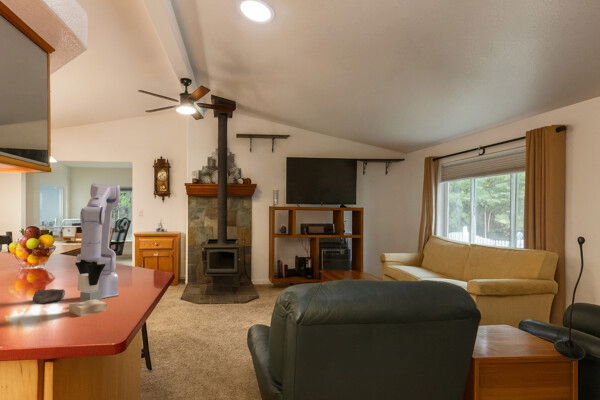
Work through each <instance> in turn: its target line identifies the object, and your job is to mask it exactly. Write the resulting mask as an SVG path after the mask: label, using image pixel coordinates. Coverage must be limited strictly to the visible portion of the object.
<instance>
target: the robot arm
mask: <svg viewBox="0 0 600 400" xmlns="http://www.w3.org/2000/svg"><path fill="white" fill-rule="evenodd" d="M89 192H90V199H89V201H88V203H87V204H86V206H84V207H83V208H81V209H80V215H79V217H80V218H79V219H80V229H81V242H80V254H76V255H77V256H76V261H78V262H75V266H76V268H77V270H78V274H86V273H88V278H89V285H90V286H92V285H97V283H98V280H99V288H98V290H101V299H107V298H112V297H117V296H119V276H118V274H117V272H115V271H116V267H117V254H116V252H115V251H114V250H113V249H111V248H110V241H111V229H112V228H111V227H112V217H113V216H112V215H113V211H114V208H116V207H119V204H120V200H121V199H120V197H121V186H120V185H119V183H116V184H115V183H114V184H112V183H97V182H92V184H91V185H90V190H89Z"/></svg>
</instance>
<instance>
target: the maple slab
mask: <svg viewBox="0 0 600 400" xmlns="http://www.w3.org/2000/svg"><path fill="white" fill-rule="evenodd" d="M68 309H69V310H68V312H69V313H71V314H74V315H76V316H77V317H78V316H79V317H84V316H89V315H90V316H91V315H94V314H99V313H103V312H107V311H108V310H107V309H108V303H107V302H105V301H102V300H101V301H99V300H96V299H94V300H88V301H83V302H80V301H78V302H73V303H69V308H68Z"/></svg>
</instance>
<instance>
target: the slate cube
mask: <svg viewBox="0 0 600 400" xmlns="http://www.w3.org/2000/svg"><path fill="white" fill-rule="evenodd" d="M79 294H80V295H79V302H83V301H88V300H94V299H96V300H99V301H102V298H101V290H93V291H87V292H82V291H80V293H79Z"/></svg>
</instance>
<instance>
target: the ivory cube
mask: <svg viewBox="0 0 600 400" xmlns="http://www.w3.org/2000/svg"><path fill="white" fill-rule="evenodd" d="M98 288H99V280H98V283H97V285H92V286H90V285H89V278H88V273H86V274H80V273H78V275H77V291H80V292H87V291H93V290H98Z"/></svg>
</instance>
